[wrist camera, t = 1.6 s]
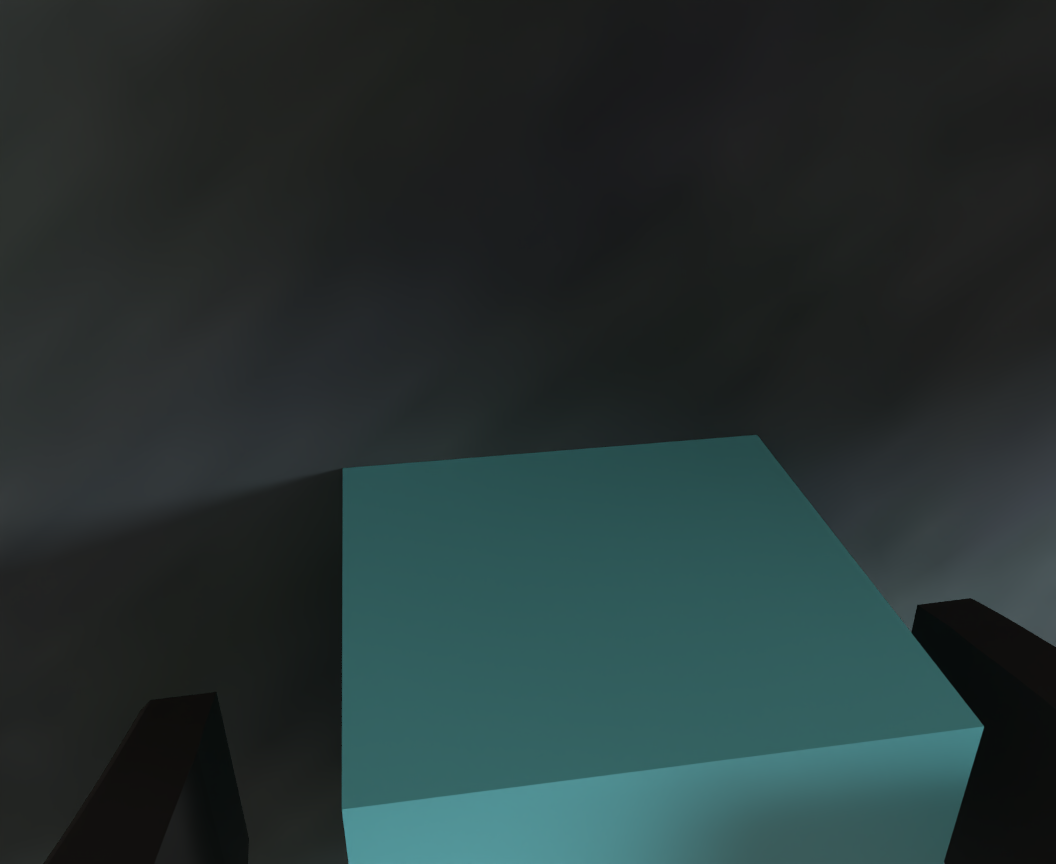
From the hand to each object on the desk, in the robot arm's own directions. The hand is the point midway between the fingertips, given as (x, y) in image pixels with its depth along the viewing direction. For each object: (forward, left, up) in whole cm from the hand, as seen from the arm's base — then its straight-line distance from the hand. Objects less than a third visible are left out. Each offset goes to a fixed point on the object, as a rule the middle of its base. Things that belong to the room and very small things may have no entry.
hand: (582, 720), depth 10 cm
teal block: (0, 0, -2) cm, 2 cm away
